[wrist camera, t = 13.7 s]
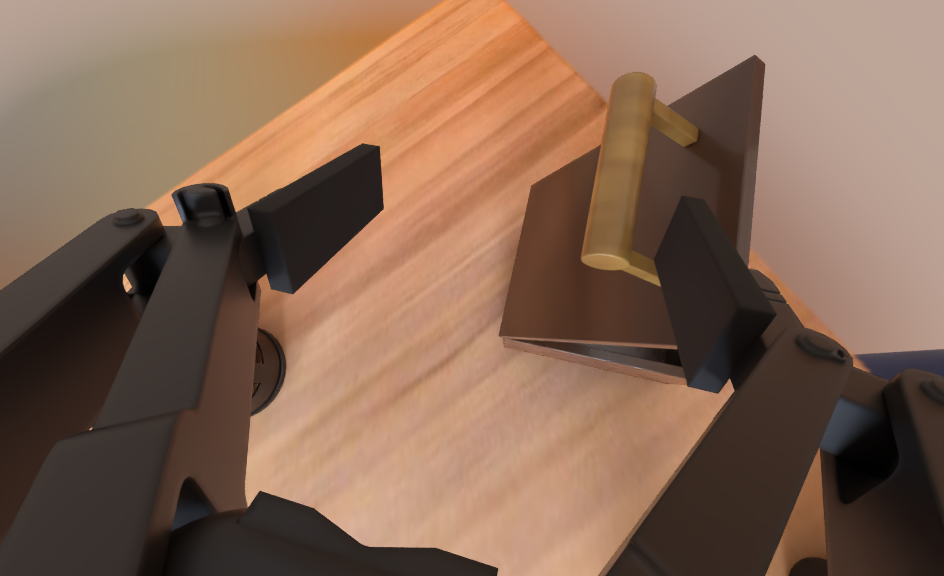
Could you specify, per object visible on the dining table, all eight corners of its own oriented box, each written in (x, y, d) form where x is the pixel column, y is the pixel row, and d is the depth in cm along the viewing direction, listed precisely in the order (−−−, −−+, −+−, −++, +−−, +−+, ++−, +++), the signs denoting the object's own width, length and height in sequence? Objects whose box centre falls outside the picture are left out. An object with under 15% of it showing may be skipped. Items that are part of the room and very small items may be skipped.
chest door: (766, 63, 16) (679, -15, 14) (741, 354, 14) (631, 312, 11) (539, 189, 31) (480, 160, 29) (507, 338, 29) (440, 319, 26)
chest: (682, 257, 38) (734, 223, 29) (667, 383, 35) (718, 386, 27) (528, 229, 40) (534, 189, 31) (503, 346, 37) (502, 338, 29)
